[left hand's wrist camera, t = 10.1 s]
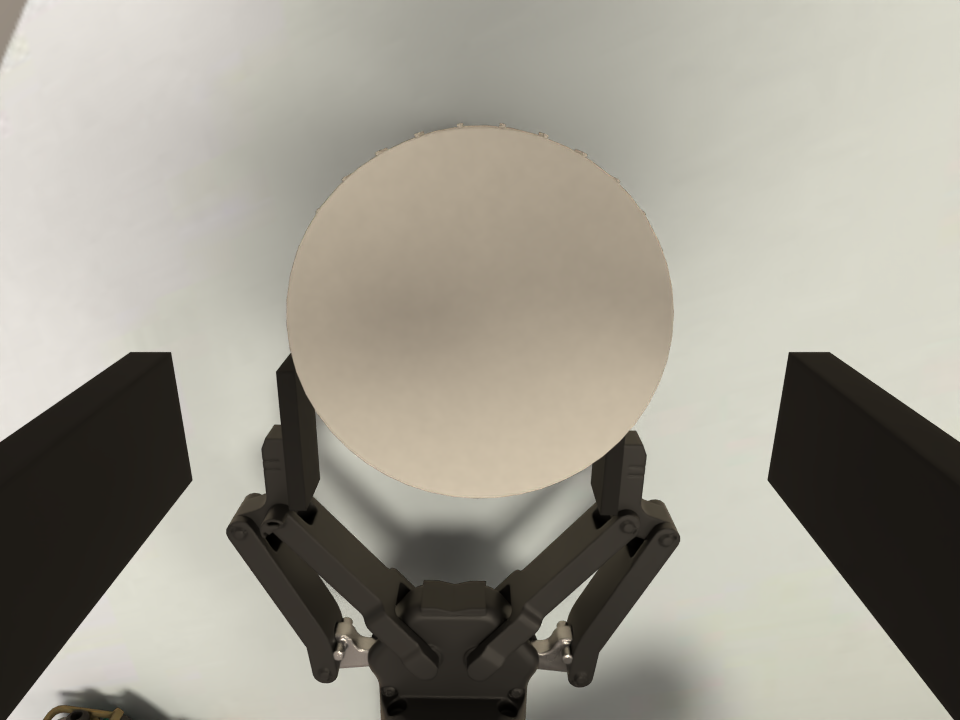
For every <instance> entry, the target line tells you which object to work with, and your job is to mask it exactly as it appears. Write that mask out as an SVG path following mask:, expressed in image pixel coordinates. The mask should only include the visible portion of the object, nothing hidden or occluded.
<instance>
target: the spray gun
mask: <svg viewBox="0 0 960 720" xmlns="http://www.w3.org/2000/svg"><path fill="white" fill-rule="evenodd" d="M59 713H70V714H69V715H68V716H67V717H63V718H60V719H58V720H100V717H102V718H104V719H103V720H109V719H107V718H110V720H131V719H130V718H129V717H127V716H126V715H123V713H124V712H123V710H121V709H120V708H116V709H115V710H114V711H113V712H111V711H104V710H96V709H89V708H82V707H74V706H67V705H61V706H57V707H55V708H53V709H52V710H51V711H49V712H48V714H47V715H46V716H45V718H44V719H43V720H51V719H52V718H53V717H54V716H55V715H57V714H59ZM122 715H123V716H122Z"/></svg>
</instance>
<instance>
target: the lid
mask: <svg viewBox="0 0 960 720" xmlns="http://www.w3.org/2000/svg"><path fill="white" fill-rule="evenodd" d="M414 135H415V138H412V139H410V140H407V141H405V142H403V143H401V144H399V145H397V146H395V147H393V148H390V149H387V148H385V149H382V150H380V151H378V152H376V153H375V154H376V157H374V158H373V159H371V160H370V161H368V162H367V163H365V164H364V165H362V166H361V167H359V168H358V169H357V170H356V171H355V172H353V173H352V174H350V175H348V176H345V177H344V178H343V179H342V181H343V182H342V183H341V184H340V185H339V186H338V187H337V188H336V189H335V190H334V192H333V193H332V194H331V195H330V196H329V198H328V199H327V200H326V201H325V202H324V204H323V205H322V206H321V207H320V208H319V209H317V211H316V213H317V214H316V215H315V217H314V218H313V220H312V222H311V223H310V225H309V226H308V228H307V230H306V232H305V235H304V237H303V239H302V241H301V244H300V245H299V247H298V250H297V253H296V257H295V260H294V264H293V267H292V271H291V274H290V280H289V287H288V294H287V331H288V339H289V346H290V351H291V354H292V358H293V362H294V365H295V369H296V372H297V375H298V377H299V379H300V382H301V384H302V386H303V389H304V391H305V393H306V395H307V397H308V399H309V400H310V402H311V404H312V405H313V407H314V409H315V410H316V412H317V414H318V415H319V416H320V418H321V419H322V420H323V422H324V423H325V424H326V425H327V427H328V428H329V429H330V431H331V432H332V433H333V434H334V435H335V436H336V437H337V438H338V439H339V440H340V441H341V442H342V443H343V444H344V445H345V446H346V447H347V448H348V449H349V450H350V451H352V452H353V453H354V454H355V455H357V456H358V457H359V458H360V459H362V460H363V461H364V462H366V463H367V464H369V465H370V466H372V467H374V468H375V469H377V470H378V471H380V472H382V473H383V474H385V475H387V476H389V477H391V478H393V479H396V480H398V481H400V482H402V483H404V484H406V485H409V486H412V487H416V488H419V489H422V490H425V491H428V492H432V493H437V494H442V495H447V496H453V497H464V498H498V497H505V496H512V495H519V494H523V493H527V492H531V491H535V490H539V489H542V488H545V487H548V486H550V485H553V484H555V483H558V482H560V481H563V480H565V479H567V478H569V477H571V476H573V475H574V474H576V473H578V472H580V471H582V470H584V469H585V468H587V467H588V466H590V465H591V464H592V463H594V462H595V461H597V460H598V459H600V458H601V457H603V456H604V455H605V454H606V453H607V452H608V451H609V450H611V449H612V448H613V447H614V446H615V445H616V444H617V443H618V442H620V441H621V439H622V438H623V437H624V436H625V435H626V434H627V433H628V431H629V430H630V429H631V428H632V427H633V426H634V425H635V423H636V422H637V421H638V419H639V418H640V416H641V415H642V413H643V412H644V410H645V409H646V407H647V406H648V404H649V402H650V400H651V398H652V396H653V394H654V392H655V391H656V389H657V387H658V385H659V382H660V380H661V377H662V374H663V371H664V368H665V365H666V363H667V359H668V354H669V350H670V345H671V340H672V331H673V317H674V309H673V294H672V285H671V281H670V276H669V271H668V266H667V263H666V260H665V257H664V254H663V250H662V248H661V246H660V243H659V240H658V238H657V237H656V235H655V233H654V231H653V229H652V227H651V225H650V223H649V221H648V220H647V218H646V216H645V215H646V214H645V212H644V211H642V210H641V209H640V208H639V207H638V205H637V204H636V202H635V201H634V200H633V198H632V197H631V196H630V195H629V194H628V193H627V192H626V191H625V190H624V189H623V188H622V186H621V185H620V184H619V183H620V181H619V180H618V179H617V178H615V177H612V176H610V175H609V174H608V173H606V172H605V171H604V170H603V169H601V168H600V167H599V166H597V165H596V164H595V163H594V162H592V161H591V160H589V159H588V158H586V156H587V154H586V153H584V152H581V151H579V150H576V149H575V151H574V150H572V149H570V148H568V147H566V146H564V145H561V144H559V143H557V142H554V141H552V140H549V139H547V138H548V135H546V134H544V133H541V132H539V134H538V135H537V134H533V133H529V132H525V131H521V130H517V129H513V128H507V127H506V125H505V124H502V123H500V125H499V127H497V126H488V125H482V126H463V123H459V124H457V127H454V128H448V129H443V130H437V131H434V132H431V133H427V134H424V132H423V131H422V132H419V133H417V134H414Z"/></svg>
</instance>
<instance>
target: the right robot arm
mask: <svg viewBox="0 0 960 720" xmlns="http://www.w3.org/2000/svg"><path fill="white" fill-rule="evenodd" d="M276 376H277V387H278V398H279V408H280V419H281V425H274V426H273V428H272V429H271V431H270V432H269V434H268V435H267V437H266V438H265V440H264V443H263V446H262V459H263V468H264V478H265V487H266V494H263V495H261V494H258V493H252V494H249V495H248V496H246V498H245V499H244V501H243V503H242V504H241V506H240V507H239V509H238V511H237V512H236V514H235V516H234V517H233V519H232V521H231V522H230V524H229V526H228V527H227V529H226V534H227V536H228V538H229V540H230V541H231V543H232V544H233V545H234V547H235V548H236V550H237V551H238V552H239V554H240V555H241V557H242V558H243V559H244V561H245V562H246V564H247V565H248V566H249V568H250V569H251V571H252V572H253V573H254V575H255V576H256V578H257V579H258V580H259V582H260V583H261V585H262V586H263V587H264V589H265V590H266V592H267V593H268V594H269V596H270V597H271V599H272V600H273V601H274V603H275V604H276V606H277V607H278V608H279V610H280V611H281V613H282V614H283V615H284V617H285V618H286V619H287V621H288V622H289V624H290V625H291V626H292V628H293V629H294V631H295V632H296V633H297V635H298V636H299V638H300V639H301V640H302V642H303V643H304V645H305V646H306V647H307V651H308V655H309V660H310V664H311V668H312V672H313V676H314V678H315V679H316V680H317V681H319V682H321V683H331V682H333V681H334V680H336V678H337V676H338V672H339V668H351V667H364V666H369V667H370V669H371V670H372V672H373V673H374V674H375V675H376V677H377V679H378V681H379V687H380V707H381V720H525V718H526V699H527V685H528V682H529V680H530V678H531V677H532V675H533V674H534V673H535V672H536V670H537V669H543V670H552V671H562V672H567V674H568V680H569V682H570V684H572V685H573V686H575V687H585V686H587V685H589V684H590V683H591V681H592V679H593V676H594V671H595V667H596V663H597V659H598V655H599V652H600V651H601V649H602V648H603V646H604V645H605V644H606V642H607V641H608V640H609V638H610V637H611V636H612V634H613V633H614V632H615V630H616V629H617V627H618V626H619V625H620V623H621V622H622V621H623V619H624V618H625V617H626V615H627V614H628V613H629V611H630V610H631V608H632V607H633V606H634V604H635V603H636V602H637V600H638V599H639V598H640V596H641V595H642V594H643V592H644V591H645V589H646V588H647V587H648V585H649V584H650V583H651V581H652V580H653V579H654V577H655V576H656V575H657V573H658V572H659V570H660V569H661V568H662V566H663V565H664V564H665V562H666V561H667V560H668V558H669V557H670V556H671V554H672V553H673V551H674V550H675V549H676V547H677V546H678V544H679V542H680V536H679V533H678V531H677V529H676V527H675V525H674V523H673V520H672V518H671V516H670V514H669V512H668V510H667V508H666V506H665V504H664V503H663V502H662V501H660V500H650V501H646V500H644V499H642V491H643V483H644V474H645V465H646V456H647V455H646V452H645V449H644V446H643V444H642V442H641V440H640V438H639V436H638V434H637V432H636V431H628V433H627V434H626V435H625V436H624V437H623V438H622V439H621V441H620V442H618V443H617V444H616V445H615V446H614V447H613V448H612V449H611V450H609V451H608V452H607V453H606V454H605V455H604V456H603V457H601V458H600V459H598V460H597V461H595V462H594V463H592V475H591V486H592V489H593V492H594V496H595V499H596V503H595V504H594V505H593V506H591V507H590V508H589V509H588V510H587V511H586V512H585V513H584V514H583V515H582V516H581V517H580V518H578V519H577V520H576V521H575V522H574V523H573V524H572V525H571V526H570V527H569V528H568V529H567V530H566V531H564V532H563V533H562V534H561V535H560V536H559V537H558V538H557V539H556V540H555V541H554V542H553V543H551V544H550V545H549V546H548V547H547V548H546V549H545V550H544V551H543V552H542V553H541V554H540V555H538V556H537V557H536V558H535V559H534V560H533V561H532V562H531V563H530V564H529V565H528V566H527V567H526V568H524V569H523V570H522V571H519V570H515V571H514V572H513V573H512V574H511V575H510V576H508V577H507V578H506V579H505V580H504V581H503V582H502V583H501V584H500V585H499V586H498V587H497V588H496V589H493V588H491V587H488V586H486V581H468V582H463V583H459V584H452V583H447V582H443V581H436V580H424V583H423V585H422V586H418V587H416V588H415V587H414V586H413V585H412V584H411V583H410V582H409V581H408V580H407V579H406V578H405V577H404V576H403V575H402V574H401V573H400V572H399V571H398V570H396V569H395V568H391V569H388V568H387V567H386V566H385V565H384V564H383V563H382V562H381V561H379V560H378V559H377V558H376V557H375V556H374V555H373V554H372V553H371V552H370V551H369V550H368V549H367V548H366V547H365V546H364V545H363V544H362V543H361V542H360V541H359V540H358V539H357V538H356V537H355V536H353V535H352V534H351V533H350V532H349V531H348V530H347V529H346V528H345V527H344V526H343V525H342V524H341V523H340V522H339V521H338V520H337V519H336V518H335V517H334V516H333V515H332V514H331V513H330V512H329V511H327V510H326V509H325V508H324V507H323V506H322V505H321V504H320V503H319V502H318V501H317V500H316V499H315V498H314V497H313V494H314V492H315V490H316V487H317V485H318V483H319V480H320V472H319V459H318V445H317V432H316V418H315V409H314V407H313V405H312V404H311V402H310V400H309V399H308V397H307V395H306V393H305V391H304V389H303V386H302V384H301V382H300V379H299V377H298V375H297V372H296V369H295V365H294V362H293V358H292V354H291V353H290V355H289V356H288V357H287V358H286V360H285V361H284V362H283V364H282V365H281V366H280V367H279V369H278V370H277V371H276ZM597 570H598V571H597ZM596 571H597V572H596ZM595 572H596V574H595V575H594V576H593V578H592V579H591V581H590V582H589V584H588V585H587V586H586V588H585V589H584V591H583V592H582V594H581V595H580V596H579V598H578V599H577V601H576V602H575V604H574V606H573V607H572V609H571V611H570V614H569V616H568V620H567V622H566V621H560V622H558V623H557V628H556V629H555V630H554V631H553V633H552V635H551V636H550V637H549V638H547V639H545V640H537V638H536V636H535V633H536V632H537V631H538V630H539V628H540V626H541V623H542V620H543V618H544V617H545V616H546V615H547V614H548V613H549V612H551V611H552V610H553V609H554V608H555V607H556V606H557V605H558V604H560V603H561V602H562V601H563V600H564V599H565V598H566V597H567V596H569V595H570V594H571V593H572V592H573V591H574V590H575V589H576V588H578V587H579V586H580V585H581V584H582V583H583V582H584V581H585V580H587V579H588V578H589V577H590V576H591V575H592V574H593V573H595ZM317 573H318V574H319V575H320V576H321V577H322V578H323V579H324V580H325V581H326V582H327V583H328V584H329V585H331V586H332V587H333V588H334V589H335V590H336V591H337V592H338V593H339V594H340V595H341V596H343V597H344V598H345V599H346V600H347V601H348V602H349V603H350V604H351V605H352V606H353V607H354V608H356V609H357V610H358V611H359V612H360V613H361V614H362V615H363V617H364V621H365V624H366V626H367V628H368V629H369V630H370V631H371V632H372V633H373V635H372V637H364V636H362V635H360V634H359V633H358V632H357V631H356V629H355V627H354V626H353V625H352V624H353V621H352V619H351V618H349V617H345V618H342V614H341V611H340V609H339V606H338V604H337V602H336V601H335V599H334V597H333V596H332V594H331V593H330V591H329V590H328V588H327V587H326V585H325V584H324V582H323V581H322V580H321V578H320V577H319V575H318V574H317Z"/></svg>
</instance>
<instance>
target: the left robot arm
mask: <svg viewBox="0 0 960 720" xmlns="http://www.w3.org/2000/svg"><path fill="white" fill-rule="evenodd" d="M191 481H192V474H191V468H190V462H189V456H188V450H187V444H186V439H185V433H184V427H183V421H182V415H181V409H180V403H179V397H178V391H177V385H176V379H175V373H174V367H173V361H172V355H171V352H130V353H129V354H127V355H126V356H124V357H123V358H121V359H120V360H118V361H117V362H116V363H114V364H113V365H111V366H110V367H108V368H107V369H105V370H104V371H103V372H101V373H100V374H98V375H97V376H95V377H94V378H92V379H91V380H89V381H88V382H87V383H85V384H84V385H82V386H81V387H79V388H78V389H76V390H75V391H74V392H72V393H71V394H69V395H68V396H66V397H65V398H63V399H62V400H61V401H59V402H58V403H56V404H55V405H53V406H52V407H50V408H49V409H48V410H46V411H45V412H43V413H42V414H40V415H39V416H37V417H36V418H34V419H33V420H32V421H30V422H29V423H27V424H26V425H24V426H23V427H21V428H20V429H19V430H17V431H16V432H14V433H13V434H11V435H10V436H8V437H7V438H6V439H4V440H3V441H1V442H0V720H6V719H7V718H8V717H9V715H10V714H11V713H12V711H13V710H14V709H15V708H16V706H17V705H18V704H19V702H20V701H21V700H22V699H23V697H24V696H25V695H26V694H27V692H28V691H29V690H30V688H31V687H32V686H33V685H34V683H35V682H36V681H37V679H38V678H39V677H40V676H41V674H42V673H43V672H44V670H45V669H46V668H47V667H48V665H49V664H50V663H51V661H52V660H53V659H54V658H55V656H56V655H57V654H58V652H59V651H60V650H61V649H62V647H63V646H64V645H65V643H66V642H67V641H68V640H69V638H70V637H71V636H72V634H73V633H74V632H75V631H76V629H77V628H78V627H79V625H80V624H81V623H82V622H83V620H84V619H85V618H86V616H87V615H88V614H89V613H90V611H91V610H92V609H93V607H94V606H95V605H96V604H97V602H98V601H99V600H100V598H101V597H102V596H103V595H104V593H105V592H106V591H107V589H108V588H109V587H110V586H111V584H112V583H113V582H114V580H115V579H116V578H117V577H118V575H119V574H120V573H121V571H122V570H123V569H124V568H125V566H126V565H127V564H128V562H129V561H130V560H131V559H132V557H133V556H134V555H135V553H136V552H137V551H138V550H139V548H140V547H141V546H142V544H143V543H144V542H145V541H146V539H147V538H148V537H149V535H150V534H151V533H152V532H153V530H154V529H155V528H156V526H157V525H158V524H159V523H160V521H161V520H162V519H163V517H164V516H165V515H166V514H167V512H168V511H169V510H170V508H171V507H172V506H173V505H174V503H175V502H176V501H177V499H178V498H179V497H180V496H181V494H182V493H183V492H184V490H185V489H186V488H187V487H188V485H189V484H190V483H191ZM768 481H769V483H770V484H771V485H772V487H773V488H774V489H775V490H776V492H777V493H778V494H779V496H780V497H781V498H782V499H783V501H784V502H785V503H786V505H787V506H788V507H789V508H790V510H791V511H792V512H793V514H794V515H795V516H796V517H797V519H798V520H799V521H800V523H801V524H802V525H803V526H804V528H805V529H806V530H807V532H808V533H809V534H810V535H811V537H812V538H813V539H814V541H815V542H816V543H817V544H818V546H819V547H820V548H821V550H822V551H823V552H824V553H825V555H826V556H827V557H828V559H829V560H830V561H831V562H832V564H833V565H834V566H835V568H836V569H837V570H838V571H839V573H840V574H841V575H842V577H843V578H844V579H845V580H846V582H847V583H848V584H849V586H850V587H851V588H852V589H853V591H854V592H855V593H856V595H857V596H858V597H859V598H860V600H861V601H862V602H863V604H864V605H865V606H866V607H867V609H868V610H869V611H870V613H871V614H872V615H873V616H874V618H875V619H876V620H877V622H878V623H879V624H880V625H881V627H882V628H883V629H884V631H885V632H886V633H887V634H888V636H889V637H890V638H891V640H892V641H893V642H894V643H895V645H896V646H897V647H898V649H899V650H900V651H901V652H902V654H903V655H904V656H905V658H906V659H907V660H908V661H909V663H910V664H911V665H912V667H913V668H914V669H915V670H916V672H917V673H918V674H919V676H920V677H921V678H922V679H923V681H924V682H925V683H926V685H927V686H928V687H929V688H930V690H931V691H932V692H933V694H934V695H935V696H936V697H937V699H938V700H939V701H940V703H941V704H942V705H943V706H944V708H945V709H946V710H947V711H948V713H949V714H950V715H951V717H952V718H953V719H954V720H960V442H959V441H957V440H956V439H954V438H953V437H952V436H950V435H949V434H947V433H946V432H944V431H943V430H941V429H940V428H939V427H937V426H936V425H934V424H933V423H931V422H930V421H928V420H927V419H926V418H924V417H923V416H921V415H920V414H918V413H917V412H915V411H914V410H912V409H911V408H910V407H908V406H907V405H905V404H904V403H902V402H901V401H899V400H898V399H897V398H895V397H894V396H892V395H891V394H889V393H888V392H886V391H885V390H884V389H882V388H881V387H879V386H878V385H876V384H875V383H873V382H872V381H871V380H869V379H868V378H866V377H865V376H863V375H862V374H860V373H859V372H857V371H856V370H855V369H853V368H852V367H850V366H849V365H847V364H846V363H844V362H843V361H842V360H840V359H839V358H837V357H836V356H834V355H833V354H831V353H830V352H789V355H788V361H787V367H786V373H785V379H784V385H783V391H782V397H781V403H780V409H779V415H778V421H777V427H776V433H775V439H774V444H773V450H772V456H771V462H770V468H769V474H768Z"/></svg>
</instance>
